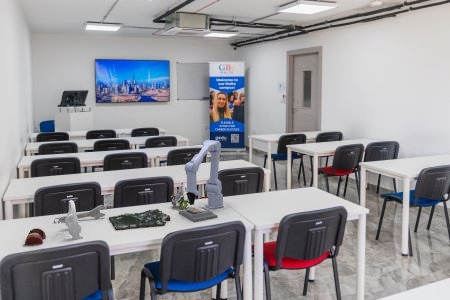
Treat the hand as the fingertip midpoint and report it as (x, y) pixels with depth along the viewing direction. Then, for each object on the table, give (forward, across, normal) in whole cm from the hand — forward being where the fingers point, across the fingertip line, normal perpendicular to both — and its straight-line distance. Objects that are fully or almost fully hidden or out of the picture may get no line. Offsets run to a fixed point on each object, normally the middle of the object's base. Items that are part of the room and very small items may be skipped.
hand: (191, 204), depth 248 cm
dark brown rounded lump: (+8, -7, -86) cm, 87 cm away
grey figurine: (+8, -8, -67) cm, 68 cm away
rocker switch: (+5, 0, +4) cm, 6 cm away
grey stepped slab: (+8, 0, +4) cm, 9 cm away
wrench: (+8, -29, -58) cm, 65 cm away
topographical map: (+8, -8, -29) cm, 31 cm away
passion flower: (+8, -21, +3) cm, 23 cm away
